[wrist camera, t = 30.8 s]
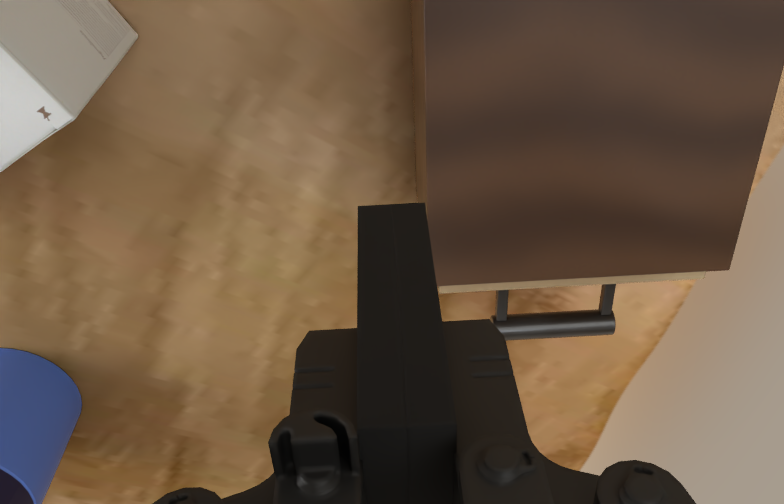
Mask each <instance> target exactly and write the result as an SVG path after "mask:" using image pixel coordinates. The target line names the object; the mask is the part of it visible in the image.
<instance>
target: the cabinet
mask: <svg viewBox="0 0 784 504" xmlns="http://www.w3.org/2000/svg"><path fill="white" fill-rule="evenodd" d="M411 28H412V64H413V100H414V136H415V172H416V193H417V201H418V203H425V207H426V214H427V221H428V228H429V235H430V242H431V249H432V256H433V263H434V269H435V276H436V283H437V286H453V285H471V284H489V283H507V282H525V281H543V280H561V279H579V278H597V277H614V276H632V275H650V274H668V273H686V272H704V271H721V270H729V269H730V265H731V261H732V257H733V254H734V250H735V246H736V243H737V239H738V235H739V231H740V227H741V223H742V220H743V216H744V212H745V209H746V205H747V201H748V198H749V194H750V190H751V186H752V183H753V179H754V175H755V171H756V168H757V164H758V160H759V156H760V152H761V149H762V145H763V141H764V137H765V134H766V130H767V126H768V122H769V119H770V115H771V111H772V107H773V104H774V100H775V96H776V92H777V89H778V85H779V81H780V77H781V74H782V70H783V66H784V0H411Z"/></svg>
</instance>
